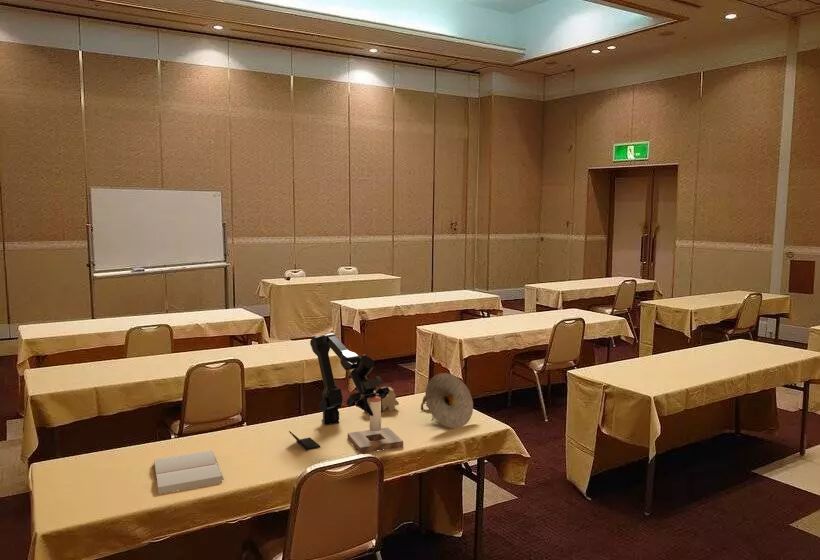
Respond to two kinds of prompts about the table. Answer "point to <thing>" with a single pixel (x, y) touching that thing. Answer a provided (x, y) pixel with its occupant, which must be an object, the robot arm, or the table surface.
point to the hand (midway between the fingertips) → (377, 414)
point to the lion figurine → (423, 402)
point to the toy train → (388, 400)
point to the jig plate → (382, 437)
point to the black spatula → (306, 442)
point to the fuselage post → (375, 413)
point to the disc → (449, 400)
